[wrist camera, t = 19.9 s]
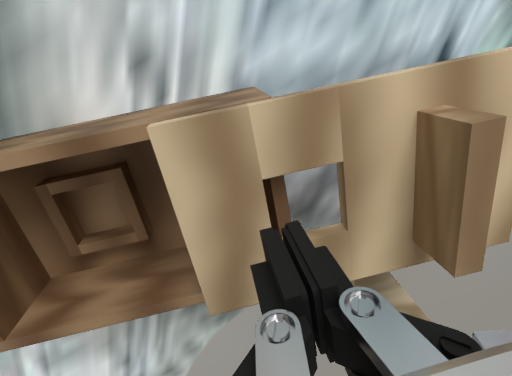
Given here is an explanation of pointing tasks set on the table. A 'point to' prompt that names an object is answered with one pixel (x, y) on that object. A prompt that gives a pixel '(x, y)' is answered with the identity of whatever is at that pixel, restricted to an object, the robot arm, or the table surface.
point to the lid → (351, 172)
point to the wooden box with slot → (97, 225)
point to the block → (391, 293)
